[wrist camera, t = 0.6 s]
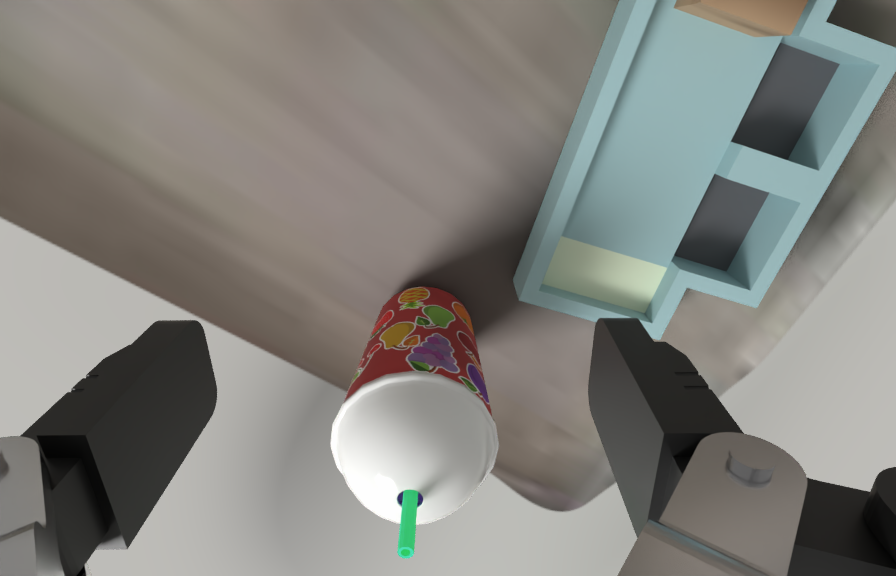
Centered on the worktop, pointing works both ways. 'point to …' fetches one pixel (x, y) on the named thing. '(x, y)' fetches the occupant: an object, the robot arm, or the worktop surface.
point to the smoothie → (416, 414)
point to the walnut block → (748, 14)
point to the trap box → (695, 160)
